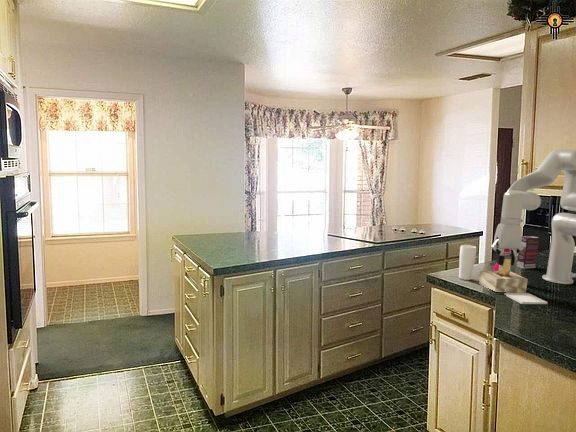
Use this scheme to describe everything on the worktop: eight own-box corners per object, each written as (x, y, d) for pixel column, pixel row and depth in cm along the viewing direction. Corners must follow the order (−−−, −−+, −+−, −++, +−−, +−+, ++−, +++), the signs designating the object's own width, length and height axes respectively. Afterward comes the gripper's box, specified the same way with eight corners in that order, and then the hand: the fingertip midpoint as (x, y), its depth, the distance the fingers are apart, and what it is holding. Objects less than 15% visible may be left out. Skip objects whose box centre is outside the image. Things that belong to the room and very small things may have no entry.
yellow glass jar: (504, 281, 202) (507, 254, 201) (510, 284, 198) (514, 256, 196) (495, 281, 202) (498, 254, 200) (501, 284, 197) (504, 256, 196)
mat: (528, 295, 193) (528, 293, 193) (547, 304, 182) (547, 302, 182) (504, 294, 191) (504, 292, 191) (521, 304, 180) (521, 302, 180)
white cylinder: (453, 277, 214) (457, 244, 212) (465, 276, 217) (468, 244, 214) (464, 281, 208) (468, 248, 206) (476, 280, 211) (480, 247, 208)
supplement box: (528, 265, 246) (532, 235, 244) (536, 268, 242) (540, 237, 239) (515, 266, 243) (519, 236, 241) (523, 268, 239) (527, 237, 236)
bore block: (508, 284, 207) (509, 271, 206) (525, 293, 195) (527, 279, 195) (478, 284, 205) (480, 270, 204) (494, 292, 193) (496, 278, 192)
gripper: (523, 220, 201) (517, 262, 204) (486, 219, 198) (481, 262, 201) (534, 223, 194) (529, 266, 196) (497, 222, 191) (492, 266, 194)
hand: (505, 263), depth 199 cm, fingers closed on yellow glass jar, 4 cm apart
